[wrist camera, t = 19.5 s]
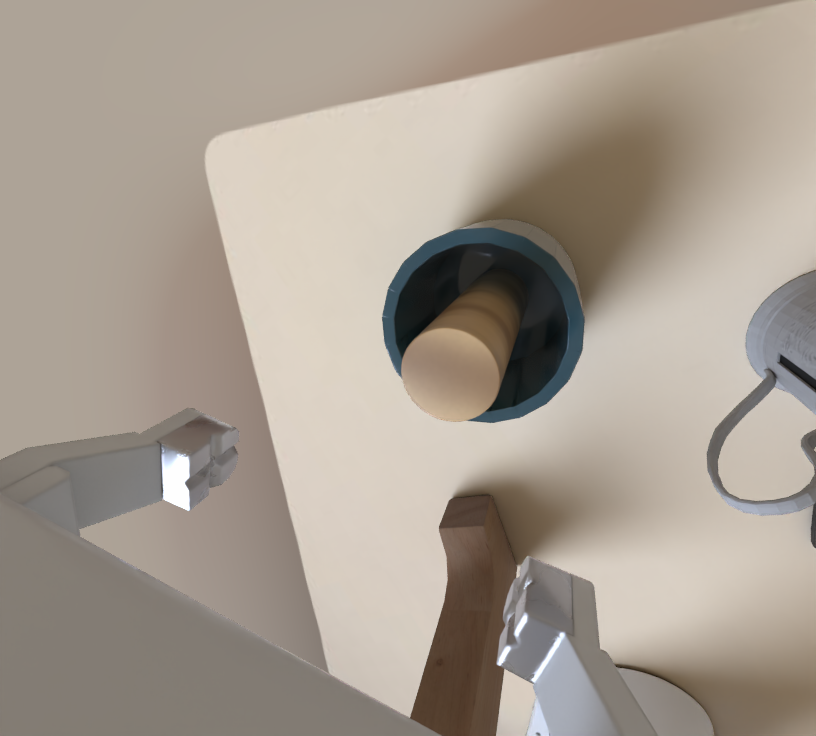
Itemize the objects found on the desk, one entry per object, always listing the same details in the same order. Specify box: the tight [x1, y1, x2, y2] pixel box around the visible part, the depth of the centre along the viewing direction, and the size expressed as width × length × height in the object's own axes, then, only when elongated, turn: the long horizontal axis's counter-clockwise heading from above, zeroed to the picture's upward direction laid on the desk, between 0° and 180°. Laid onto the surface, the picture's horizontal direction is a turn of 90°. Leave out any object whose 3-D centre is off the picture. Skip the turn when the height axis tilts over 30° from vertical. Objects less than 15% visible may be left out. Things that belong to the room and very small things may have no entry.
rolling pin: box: [401, 269, 528, 422], centre depth 25 cm, size 4×4×16 cm
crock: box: [382, 219, 585, 423], centre depth 29 cm, size 12×12×10 cm
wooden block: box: [410, 495, 517, 736], centre depth 34 cm, size 9×4×18 cm, turn 21°
